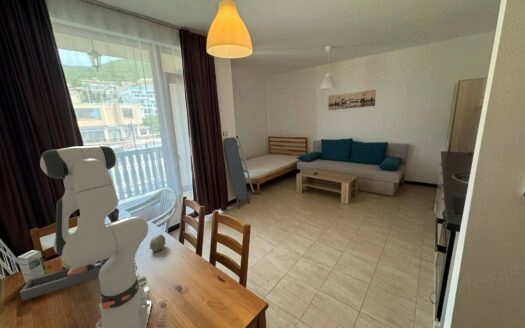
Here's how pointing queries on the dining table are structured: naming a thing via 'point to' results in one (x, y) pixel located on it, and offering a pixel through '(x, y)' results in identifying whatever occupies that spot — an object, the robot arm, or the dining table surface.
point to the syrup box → (32, 265)
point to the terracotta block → (76, 270)
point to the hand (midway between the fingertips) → (98, 267)
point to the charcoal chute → (57, 281)
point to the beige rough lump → (157, 243)
